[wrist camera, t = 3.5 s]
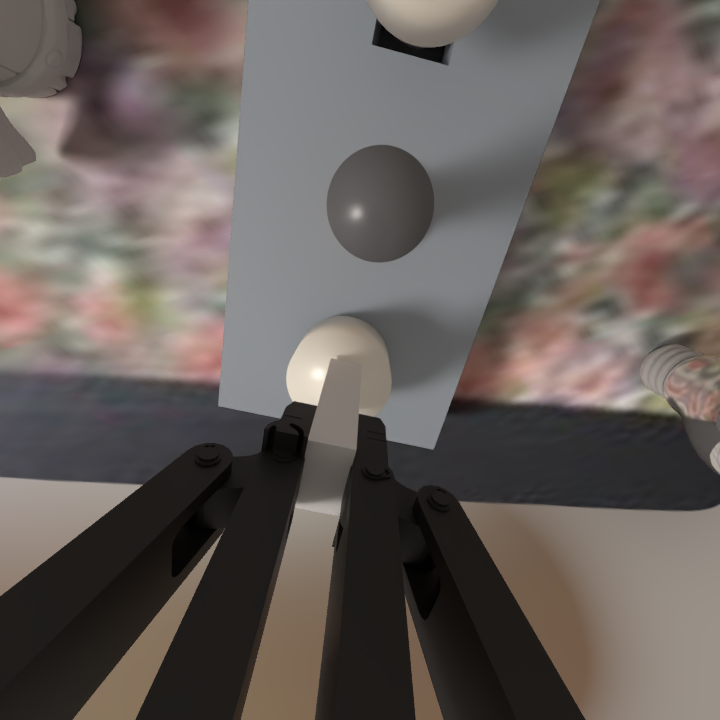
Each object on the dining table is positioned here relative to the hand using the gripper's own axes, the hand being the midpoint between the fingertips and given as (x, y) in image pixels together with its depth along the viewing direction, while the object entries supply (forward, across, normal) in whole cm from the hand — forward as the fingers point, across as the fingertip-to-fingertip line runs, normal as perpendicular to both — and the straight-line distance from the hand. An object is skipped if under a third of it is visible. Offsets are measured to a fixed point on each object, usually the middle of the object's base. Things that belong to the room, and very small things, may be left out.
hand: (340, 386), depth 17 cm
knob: (+7, 0, 0) cm, 7 cm away
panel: (+8, 0, +8) cm, 11 cm away
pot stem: (+4, 0, +8) cm, 9 cm away
